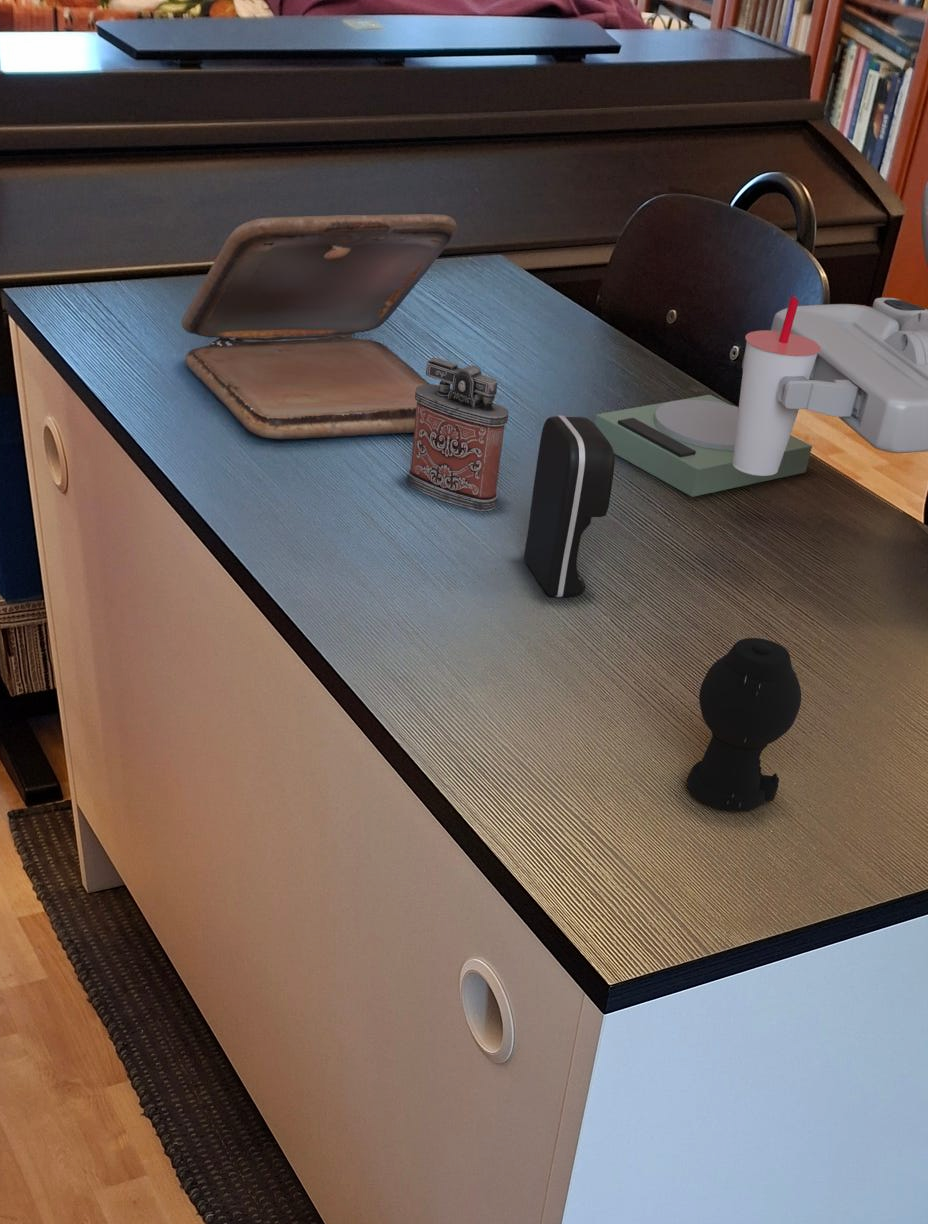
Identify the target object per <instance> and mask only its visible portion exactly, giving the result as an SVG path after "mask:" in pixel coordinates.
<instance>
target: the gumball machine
mask: <svg viewBox="0 0 928 1224" xmlns="http://www.w3.org/2000/svg"><path fill="white" fill-rule="evenodd" d="M765 630H766V627H764V628H763V635H764V634H765ZM698 700H699V701H698V702H699V707H700V712H701V717H702V720H703V722H704V723H705V725H706V726H707V728H708V729H709V730H710V731H711V738H710V741H709V743H708V745H707V747H706V750H705V752H704V754H703V756H702V759H701V760H699V761H698V762H696V763H695V764H694V765H693V766H692V767H691V770H690V772H689V774H688V776H687V778H686V786H687V789H688V790H689V792H690V793H691V794H692V795H693V797H695V798H697V799H698V800H699V801H700V802H702V803H705V804H707V805H709V806H711V807H714V808H718V809H721V810H725V811H732V812H733V811H734V812H741V811H743V812H744V811H751V810H754V809H757V808H759V807H760V806H762V805H763V803H764V802H766V803H768V802H772V801H775V798H776V795H777V792H778V789H779V782H780V777H779V776H778V775H777V773H773V774H772V775H769V774H763V773H762V767H761V762H762V761H761V759H760V758H761V756H762V755H761V754H762V753H763V751H764V750H765V749H766V748H767V747H768V745H770V744H772V743H775V742H776V741H777V740H779V739H780V738H781V737H783V736H784V735H785V734H786V733H787V732H788V731H790V729H791V728H792V726H793V725H794V723H795V721H796V719H797V717H798V714H799V711H800V709H801V705H802V688H801V685H800V682H799V679H798V676H797V672H796V671H795V670H794V668H793V665H792V659H791V655H790V652H789V651H788V650H787V648H785V647H784V646H783V645H781V644H780V643H777V642H776V641H773V640H769V639H768V635H766V636H765V638H761V637H760V638H759V637H747V638H743V639H742V638H741V639H739V640H738V641H736V642H735V643H734V644H733V645H732V647H731V648H730V649H729V651H728V652H727V653H726V654H724V655H723V656H722V657H720V658H719V659H716V661H715V662H713V664H712V665H711V666H710V667H709V669H708V670H707V671H706V674H705V675H704V678H703V680H702V682H701V686H700V688H699V694H698ZM764 814H765V811H764V810H763V811H762V819H763V818H764Z"/></svg>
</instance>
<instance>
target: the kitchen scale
mask: <svg viewBox="0 0 928 1224" xmlns="http://www.w3.org/2000/svg"><path fill="white" fill-rule="evenodd" d="M738 409H739V406H735V405H731V404H729V403H728V402H726V401H724V400H721V399H719V398H718V397H716V396H714V395H712V394H705V395H700V396H694V397H689V398H683V399H677V400H670V401H666V402H665V401H664V402H659V403H654V404H647V405H642V406H637V407H631V408H624V409H619V410H612V411H607V412H602V413H601V412H600V413H597V414H596V415H595V420H594V424H595V425H596V426H597V427H598V429H599V430H600V431H601V432H602V433H603V435H604V436H605V437H606V439H607V440H608V441H609V443H610V444H611V446H612V448H613V451H614V455H616V456H617V457H619V458H621V459H623V460H625V461H627V462H628V463H630V464H631V465H634V466H635V467H637V468H639V469H641V470H642V471H645V472H646V473H648V474H649V475H651V476H653V477H656V478H657V479H659V480H661V482H664V483H665V484H668V485H670V486H672V487H673V488H675V489H677V490H678V491H680V492H682V493H684V494H686V495H688V496H689V497H691V498H694V497H699V496H703V495H708V494H712V493H713V494H714V493H717V492H722V491H726V490H730V489H735V488H740V487H741V488H742V487H745V486H749V485H754V484H758V483H764V482H768V481H772V480H777V479H781V478H787V477H790V476H795V475H800V474H805V473H806V472H807V467H808V464H809V460H810V456H811V452H812V448H813V445H812V444H810V443H807V442H806V441H804V440H801V439H799V438H798V437H796V436H794V435H792V434H790V437H789V440H788V443H787V446H786V449H785V451H784V454H783V457H782V460H781V463H780V466H779V468H778V472H777V473H776V474H773V475H769V476H758V475H752V474H748V473H744V472H742V471H740V470H738V469H736V468H735V467H734V466H733V454H734V445H735V435H736V426H737V417H738Z"/></svg>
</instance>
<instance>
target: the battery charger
mask: <svg viewBox="0 0 928 1224" xmlns="http://www.w3.org/2000/svg"><path fill="white" fill-rule="evenodd" d="M615 461H616V459H615V454H614V451H613V448H612V446H611V444H610V443H609V441H608V440H607V439H606V437H605V436H604V435H603V433H602V432H601V431H600V430H599V429H598V427H597V426H596V425H595V422H593V421H592V420H591V419H589V418H587V417H583V416H565V415H563V414H560V415H559V414H557V415H554V416H549V417H548V418H546V420H545V422H544V423H543V426H542V430H541V435H540V441H539V447H538V453H537V459H536V467H535V475H534V481H533V487H532V488H533V490H532V496H531V505H530V512H529V521H528V527H527V533H526V541H525V545H524V546H525V547H524V553H523V554H524V555H523V559H524V560H525V562H526V564H527V565H528V567H529V569H530V570H531V571H532V573H533V575H534V577H535V578H536V580H537V581H538V583H539V584H540V586H541V587H542V588H543V590H544V591H545V592H546V595H548V596H550V597H555V598H563V597H571V596H579V595H581V594H583V593H584V592H585V589H586V583H585V581H584V579H583V577H582V576H581V575H580V573H579V572H578V569H577V562H578V553H579V549H580V543H581V539H582V535H583V533H584V532H585V531H586V529H587V528H588V527H589V526H591V522H592V518H602V517H605V516H607V514H608V510H609V507H610V501H611V495H612V487H613V480H614V472H615V463H616V462H615Z"/></svg>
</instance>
